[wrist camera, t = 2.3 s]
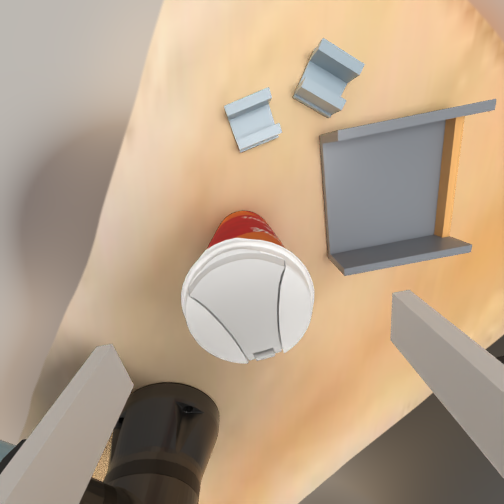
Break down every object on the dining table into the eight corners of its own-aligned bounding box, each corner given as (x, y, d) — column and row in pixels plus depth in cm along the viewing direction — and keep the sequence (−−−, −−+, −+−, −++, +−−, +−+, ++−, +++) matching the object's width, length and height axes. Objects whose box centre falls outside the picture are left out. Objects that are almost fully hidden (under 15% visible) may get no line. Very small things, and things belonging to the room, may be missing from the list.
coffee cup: (287, 257, 29) (333, 349, 15) (222, 276, 29) (207, 384, 15) (268, 188, 26) (303, 224, 12) (196, 212, 26) (148, 272, 12)
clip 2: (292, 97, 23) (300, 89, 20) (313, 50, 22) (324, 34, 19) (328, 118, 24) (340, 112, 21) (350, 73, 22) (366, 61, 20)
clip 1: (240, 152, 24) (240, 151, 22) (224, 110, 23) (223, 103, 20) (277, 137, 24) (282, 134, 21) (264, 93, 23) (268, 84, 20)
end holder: (328, 257, 29) (344, 275, 25) (319, 135, 24) (337, 130, 20) (434, 237, 29) (470, 252, 24) (448, 109, 24) (496, 98, 19)
